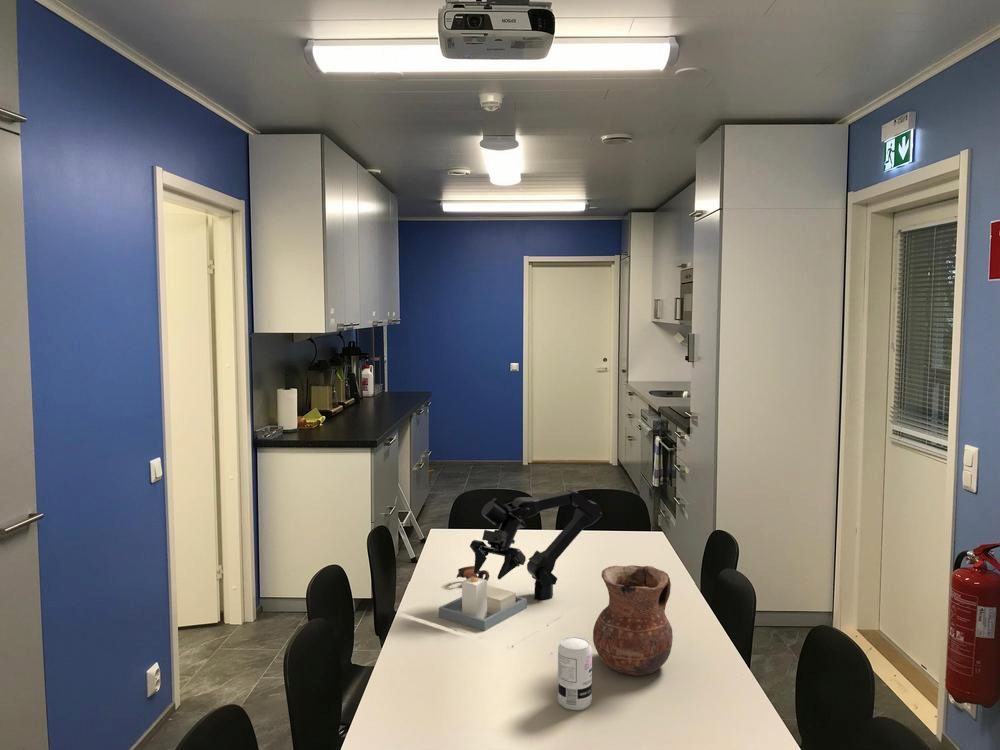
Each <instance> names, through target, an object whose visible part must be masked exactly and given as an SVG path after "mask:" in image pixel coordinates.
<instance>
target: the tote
mask: <svg viewBox="0 0 1000 750" xmlns="http://www.w3.org/2000/svg"><path fill="white" fill-rule="evenodd" d="M527 604H528V598H525V597H521V596H518V595H516V603H514V604H512V605H510V606H508V607H506V608H505V609H503V610H501V611H499V612H497V613H495V614H493V613H489V612H487V616H486V617H485V618H483V619H481V618H478V617H474V616H471V615H468V614H464V613H462V596H460V597H458V598H455V599H454V600H451V601H450V602H447V603H446V604H443V605H441V606H438V618H441V619H444V620H447V621H450V622H453V623H456V624H461V625H464V626H467V627H470V628H472V629H476V630H479V631H482V632H486V631H488V630H489V629H491V628H494V627H495V626H498V625H499V624H501V623H502V622H504V621H506V620H508V619H510V618H512V617H513V616H515V615H516V614H519V613H521V612H523V611H524V610H526V609H527V608H528V605H527Z"/></svg>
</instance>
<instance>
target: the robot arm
mask: <svg viewBox="0 0 1000 750" xmlns="http://www.w3.org/2000/svg"><path fill="white" fill-rule="evenodd" d="M570 504H572V505H573V506H574V507H575V510H574V514H573V517H572V519H571V520H570V521H569V523H568V524H567V525H566V526H565V527H564V528H563V529H562V531H561V532H560V533H559V534H558V535H557V536H556V537H555V539H553V541H552V542H551V543H550V544H549V545H548V546H547V547H546V549H545V550H543V551H541V552H540V551H539V550H536V551H534V552H533V555H532V556H530V557H529V558H528V562H527V564H526V571H527V572H528V574H529V575H531V578H532V579H533V580H535V581H534V600H536V601H540V602H541V601H547V600H552V599H553V596H554V585H556V584H557V581H558V577H557V576H556V575H555V574H553V573H552V572H553V570H554V569H555V564H556V562H557V560H558V559H559V557H560V556H561V555H562V554H563V553H564V552H565V550H567V548H568V547H569V546H570V545H571V544H572V542H573V541H574V540H575V539H576V537H578V535H580V533H581V532H583V530H584V529H585V528H587V527H589V526H591V525H594V523H596V522H597V521H598V520H599V519H600V518H601V517H602V515H603V514H602V513H603V512H602V507H601V505H599V504H598V503H596V502H594V501H592V500H589V499H587V498H585V497H584V496H583V495H582V494H581V493H579V492H578V491H576V490H574V489H567V490H564V491H561V492H555V493H552V494H547V495H542V496H539V497H531V496H528V497H527V496H524V497H523V496H521V497H520V496H519V497H516V498H514V499H513V501H511V502H508V503H506V504H503V503H502V502H501V501H500V500H498V499H497V498H494V497H493V499H492V500H490V501H488V502H487V503H486V504H485V505H484V506H483V508H482V510H481V513H480V514H481V516H483V517H484V518H485V519H487V520H488V521H489V522H491V523H492V524H493V525H494V526H497V525H499V527H498V529H494V531H492V530H487V529H484V530H483V534H482V539H481V540H477V539H473V540H472V541H471V543H470V544H469V547H470V549H471V551H472V552H473V553H474V565H473V566H474V573H475V574H477V572H478V571H479V570H480V571H481V568H482V567H483V565H484V563H485V562H486V560H487V556H488V555H489V554H492V555H496V556H497V555H498V556H501V557H504V558H503V559H504V560H503V563H502V565H501V568H500V569H499V573H498V575H497V580H501V579H502V578H503V577H505V576H506V575H507V574H508V573H510V572H511V571H512V570H514V569H515V568H517V567H520V566H524V565H525V563H526V561H527V558H526V555H525V554H524V553H523V552H522V550H521V549H520V548H516V547H512V545H515V542H516V541H515V537H516V534H517V533H518V530H519V529H524V528H526V527H527V526H526V523H525V521H524V520H525V519H529V518H533V517H534V516H536V515H537V514H538V513H540V512H542V511H545V510H550V509H555V508H557V507H563V506H566V505H567V506H568V505H570ZM518 517H519V518H521V519H519V518H518ZM484 541H487V544H488V545H487V544H486V543H485V542H484ZM477 575H478V574H477Z"/></svg>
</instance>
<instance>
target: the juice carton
mask: <svg viewBox="0 0 1000 750" xmlns="http://www.w3.org/2000/svg"><path fill="white" fill-rule="evenodd" d="M477 577H478V576H477ZM477 577H471V578H469V579H465V580H463V581H461V597H462V613H464V614H468V615H471V616H474V617H478V618H481V619H483V618H485V617H486V616H487V585H488V581H487V580H485V579H484V578H483V579H481V578H477Z"/></svg>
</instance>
